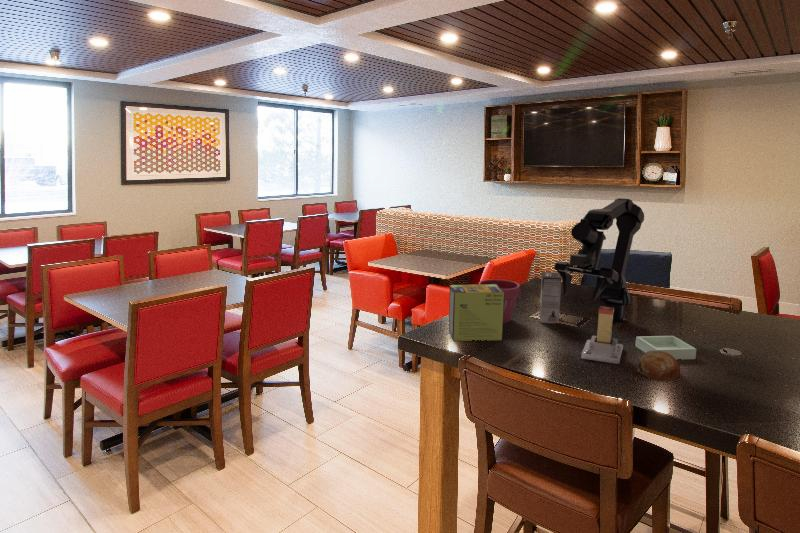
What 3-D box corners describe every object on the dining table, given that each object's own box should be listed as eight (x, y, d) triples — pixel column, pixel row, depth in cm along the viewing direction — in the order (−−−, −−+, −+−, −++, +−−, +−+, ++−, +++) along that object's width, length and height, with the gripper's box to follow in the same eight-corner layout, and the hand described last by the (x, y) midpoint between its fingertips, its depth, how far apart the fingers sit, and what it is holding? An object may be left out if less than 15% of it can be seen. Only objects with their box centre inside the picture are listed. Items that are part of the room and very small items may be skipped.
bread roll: (635, 379, 150) (625, 354, 149) (670, 363, 150) (660, 338, 149) (655, 394, 141) (644, 368, 139) (691, 377, 141) (681, 350, 139)
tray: (635, 346, 166) (636, 336, 165) (672, 345, 166) (673, 335, 166) (655, 360, 154) (656, 349, 154) (695, 359, 155) (696, 349, 155)
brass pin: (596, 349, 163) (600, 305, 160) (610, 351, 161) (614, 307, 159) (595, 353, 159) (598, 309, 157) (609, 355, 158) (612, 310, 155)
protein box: (502, 340, 170) (504, 291, 167) (453, 341, 169) (454, 292, 166) (494, 330, 180) (496, 283, 177) (448, 330, 179) (449, 284, 176)
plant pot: (523, 325, 186) (525, 288, 183) (482, 326, 184) (484, 288, 182) (511, 313, 200) (512, 278, 197) (473, 314, 198) (474, 279, 196)
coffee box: (538, 315, 197) (541, 271, 194) (557, 316, 196) (560, 272, 192) (540, 322, 188) (542, 276, 185) (559, 324, 187) (562, 277, 184)
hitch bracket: (587, 344, 167) (587, 333, 166) (622, 349, 163) (623, 338, 162) (581, 358, 155) (582, 346, 155) (619, 364, 151) (620, 352, 150)
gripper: (552, 238, 171) (540, 287, 170) (611, 245, 159) (598, 298, 157) (567, 248, 180) (555, 294, 178) (624, 256, 167) (612, 305, 165)
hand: (578, 298), depth 170 cm, fingers open, 9 cm apart
